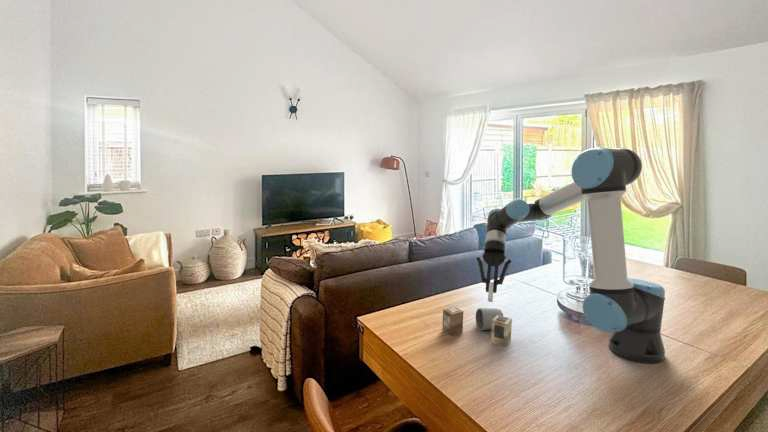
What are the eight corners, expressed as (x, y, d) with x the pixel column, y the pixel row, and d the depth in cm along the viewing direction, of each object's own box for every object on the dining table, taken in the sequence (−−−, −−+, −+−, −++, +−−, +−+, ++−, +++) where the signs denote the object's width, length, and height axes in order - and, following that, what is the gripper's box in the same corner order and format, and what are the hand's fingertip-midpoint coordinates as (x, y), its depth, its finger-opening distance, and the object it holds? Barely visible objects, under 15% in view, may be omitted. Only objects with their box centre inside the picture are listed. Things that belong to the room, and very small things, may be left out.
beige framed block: (510, 340, 134) (511, 317, 132) (505, 347, 129) (507, 323, 128) (496, 337, 136) (497, 314, 135) (490, 342, 132) (492, 319, 131)
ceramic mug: (505, 332, 140) (505, 311, 139) (483, 334, 139) (484, 313, 138) (491, 320, 151) (492, 300, 149) (471, 322, 149) (471, 302, 148)
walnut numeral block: (462, 332, 140) (463, 310, 138) (451, 336, 137) (451, 313, 136) (453, 327, 144) (453, 306, 143) (441, 330, 141) (442, 308, 140)
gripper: (512, 250, 155) (509, 306, 142) (478, 248, 159) (472, 302, 146) (512, 240, 149) (509, 297, 136) (477, 238, 153) (470, 293, 140)
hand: (490, 300), depth 141 cm, fingers closed
